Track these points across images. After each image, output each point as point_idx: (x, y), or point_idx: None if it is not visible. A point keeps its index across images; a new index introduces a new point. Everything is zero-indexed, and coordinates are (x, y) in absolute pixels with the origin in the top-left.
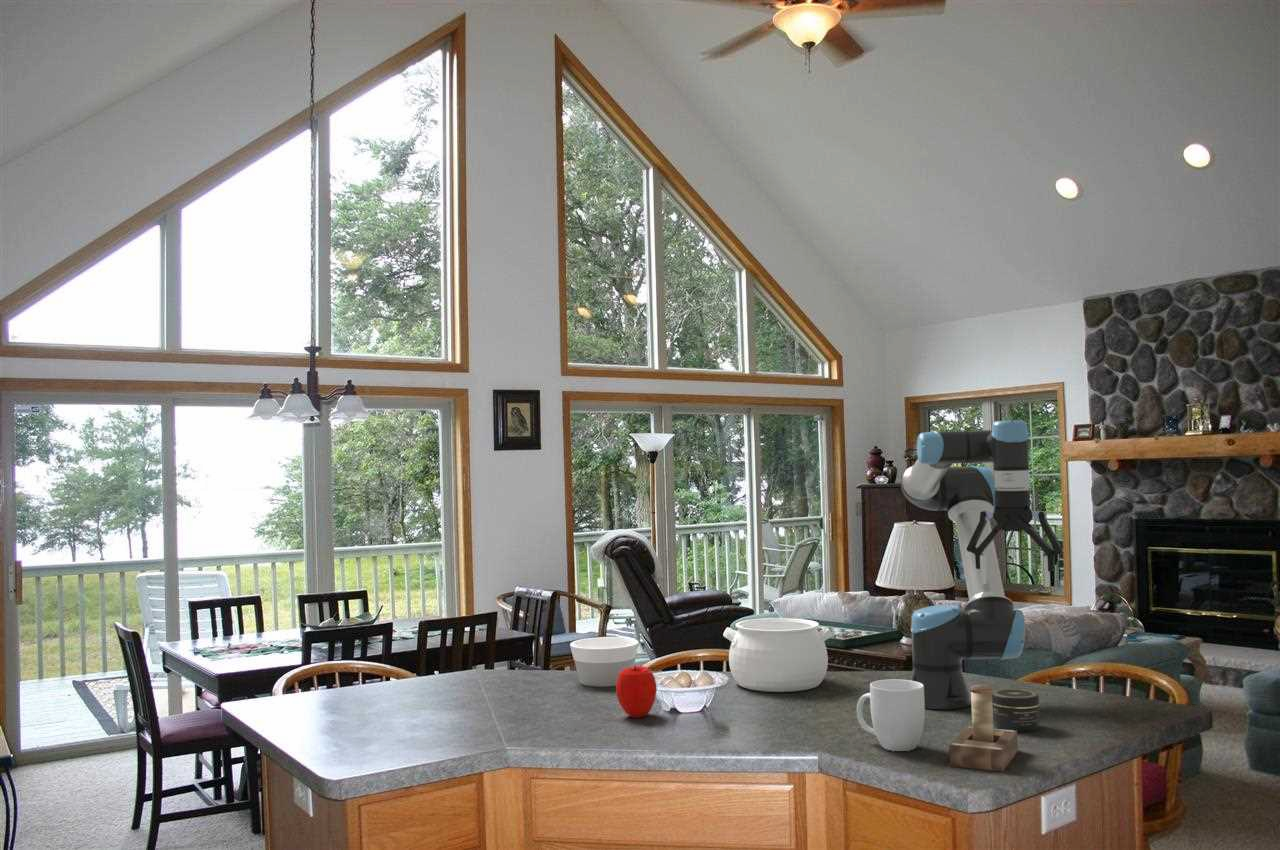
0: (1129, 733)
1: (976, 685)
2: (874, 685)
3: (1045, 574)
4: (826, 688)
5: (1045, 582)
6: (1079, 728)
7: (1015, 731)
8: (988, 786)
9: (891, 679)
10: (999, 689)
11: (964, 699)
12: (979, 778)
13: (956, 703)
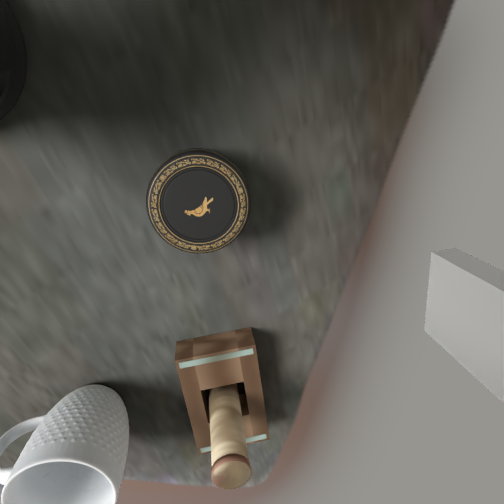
0: (385, 127)
1: (218, 469)
2: (10, 500)
3: (502, 390)
4: None
5: (451, 347)
6: (302, 135)
7: (254, 348)
8: (267, 465)
9: (18, 472)
10: (153, 186)
11: (16, 67)
12: (248, 449)
13: (12, 95)
